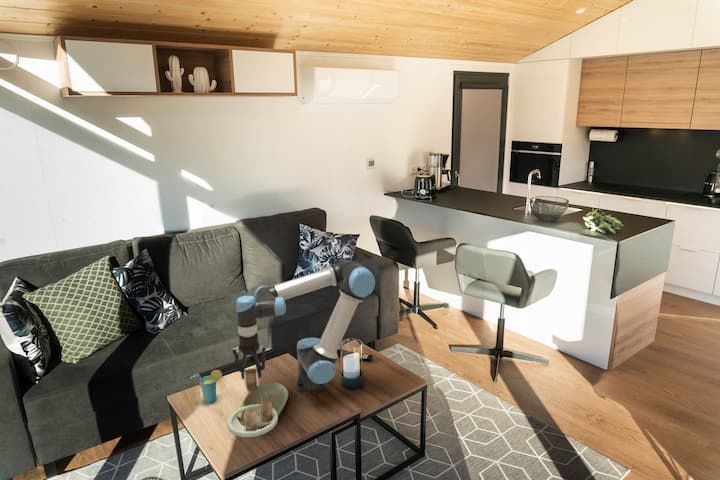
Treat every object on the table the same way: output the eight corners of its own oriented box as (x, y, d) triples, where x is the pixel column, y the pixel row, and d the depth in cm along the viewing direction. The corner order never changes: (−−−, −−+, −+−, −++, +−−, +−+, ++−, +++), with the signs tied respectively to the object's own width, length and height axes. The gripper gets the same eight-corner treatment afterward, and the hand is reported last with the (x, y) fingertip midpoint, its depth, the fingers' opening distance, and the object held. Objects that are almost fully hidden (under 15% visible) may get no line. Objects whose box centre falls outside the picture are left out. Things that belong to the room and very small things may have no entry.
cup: (196, 411, 214) (192, 380, 210) (190, 403, 220) (186, 373, 216) (226, 399, 222) (223, 369, 218) (219, 392, 228) (216, 362, 224)
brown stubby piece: (257, 391, 205) (256, 373, 203) (246, 391, 205) (244, 374, 203) (258, 385, 209) (257, 368, 207) (247, 385, 209) (246, 368, 207)
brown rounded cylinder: (273, 417, 207) (272, 400, 205) (272, 423, 203) (271, 406, 201) (262, 417, 207) (260, 400, 205) (261, 424, 202) (259, 407, 200)
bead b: (257, 426, 201) (256, 409, 199) (256, 433, 197) (255, 415, 195) (246, 427, 201) (244, 410, 199) (244, 434, 196) (243, 416, 194)
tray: (279, 407, 215) (278, 402, 214) (275, 436, 196) (275, 431, 195) (232, 411, 213) (232, 406, 213) (224, 440, 194) (224, 435, 193)
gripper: (270, 328, 205) (273, 378, 211) (228, 330, 204) (232, 381, 209) (268, 336, 198) (272, 388, 204) (225, 338, 196) (229, 390, 202)
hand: (252, 384), depth 206 cm, fingers closed on brown stubby piece, 4 cm apart
